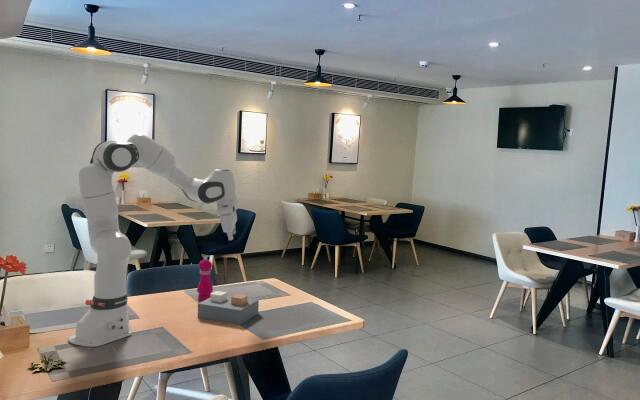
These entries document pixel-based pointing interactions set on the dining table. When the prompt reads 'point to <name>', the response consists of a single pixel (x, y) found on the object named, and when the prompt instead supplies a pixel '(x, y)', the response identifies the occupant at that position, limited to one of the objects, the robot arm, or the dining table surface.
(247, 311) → the button console
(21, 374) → the dining table surface
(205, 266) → the pepper mill
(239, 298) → the tan cube
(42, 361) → the green leafy plant
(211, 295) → the cream plunger
